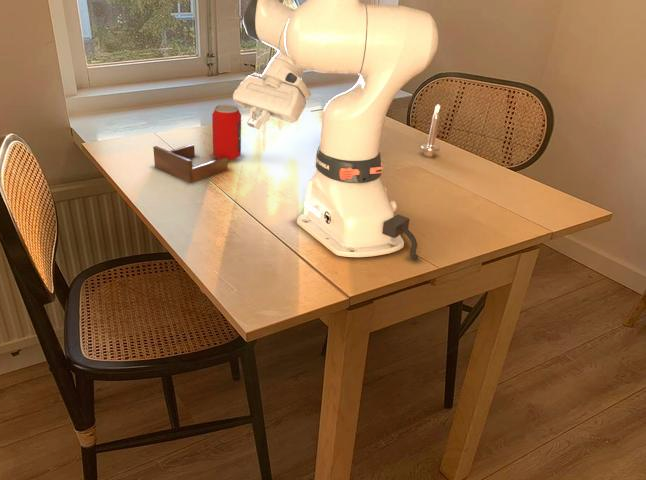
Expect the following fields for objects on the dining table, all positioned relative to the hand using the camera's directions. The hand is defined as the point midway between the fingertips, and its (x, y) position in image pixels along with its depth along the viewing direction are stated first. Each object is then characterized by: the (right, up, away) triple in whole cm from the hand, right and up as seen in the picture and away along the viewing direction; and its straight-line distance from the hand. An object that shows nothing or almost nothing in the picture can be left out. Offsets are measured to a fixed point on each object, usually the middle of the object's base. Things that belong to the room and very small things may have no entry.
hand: (252, 126), depth 145 cm
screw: (+45, -6, +5) cm, 46 cm away
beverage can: (-6, -8, -3) cm, 11 cm away
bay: (-13, -12, -10) cm, 21 cm away
